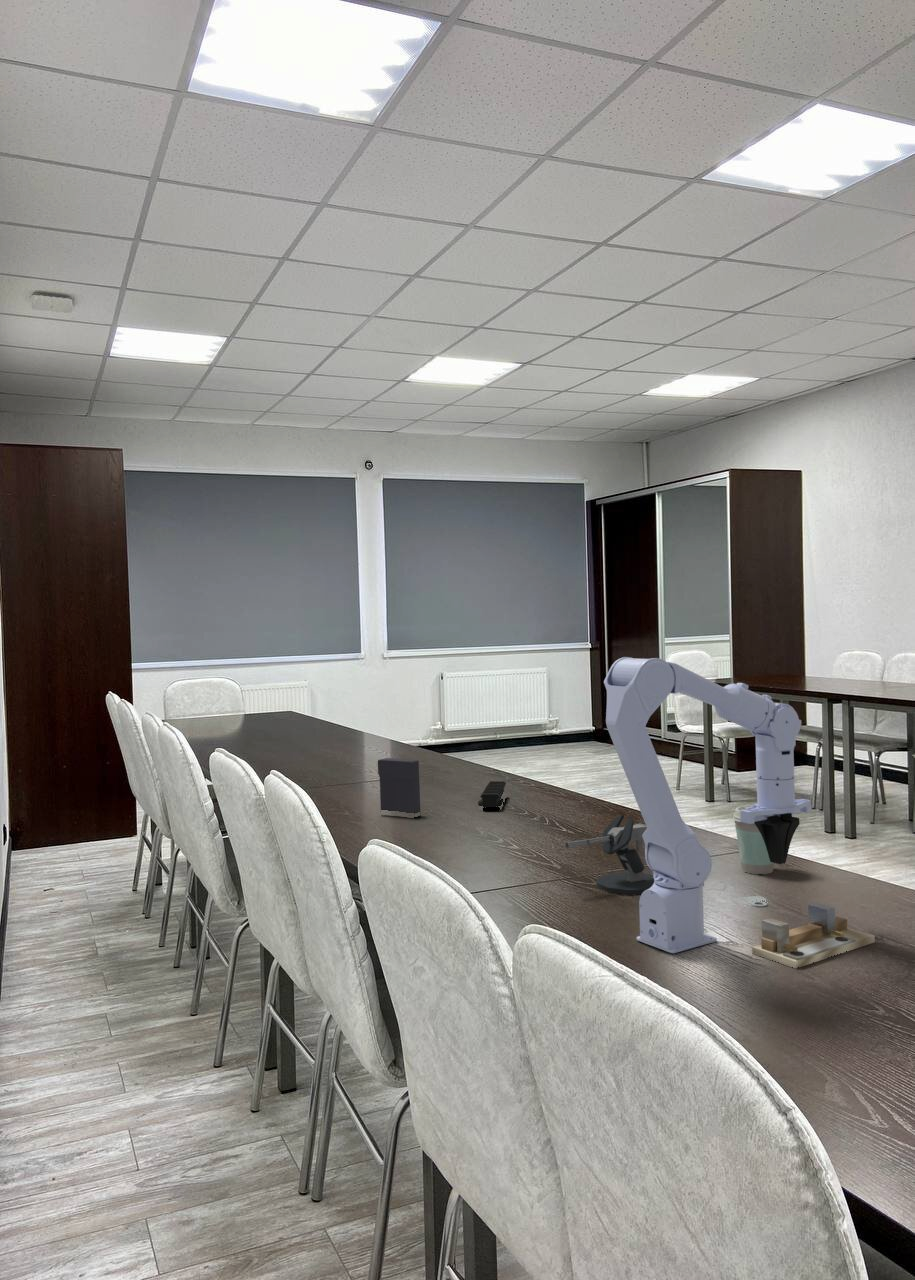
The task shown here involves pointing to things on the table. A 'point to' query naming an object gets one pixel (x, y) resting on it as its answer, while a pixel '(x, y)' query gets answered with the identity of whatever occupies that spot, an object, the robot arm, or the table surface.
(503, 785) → the rail mount
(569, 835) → the table surface
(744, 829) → the coffee cup
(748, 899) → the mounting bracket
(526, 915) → the table surface
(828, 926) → the sliding head
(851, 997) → the table surface
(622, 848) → the gun turret
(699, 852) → the robot arm
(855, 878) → the table surface
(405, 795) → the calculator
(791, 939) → the jig
